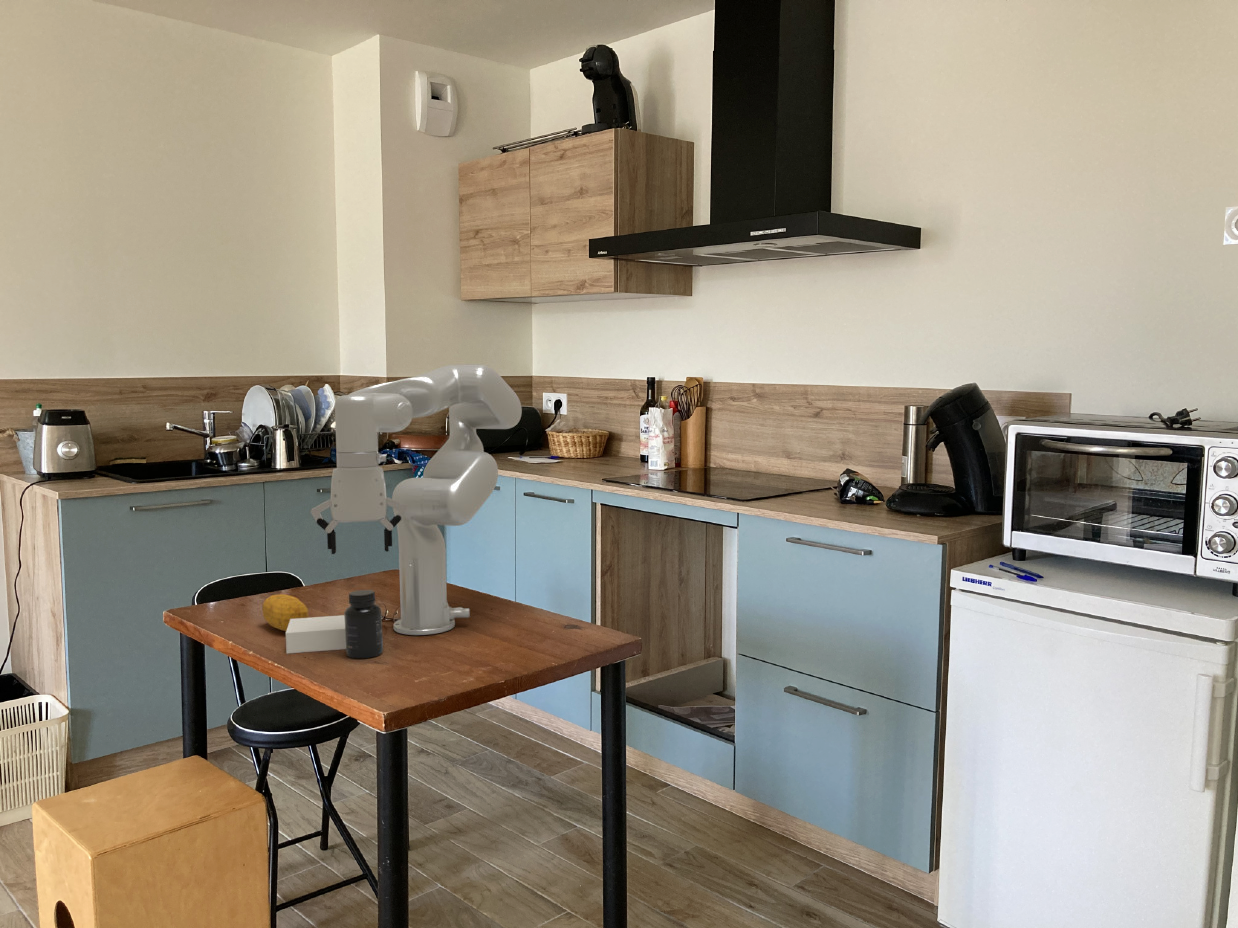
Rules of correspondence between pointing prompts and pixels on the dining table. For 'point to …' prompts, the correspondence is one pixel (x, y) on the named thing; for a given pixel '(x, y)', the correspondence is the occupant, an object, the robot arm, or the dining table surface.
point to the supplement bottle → (363, 625)
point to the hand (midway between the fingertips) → (360, 551)
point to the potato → (283, 610)
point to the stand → (316, 634)
